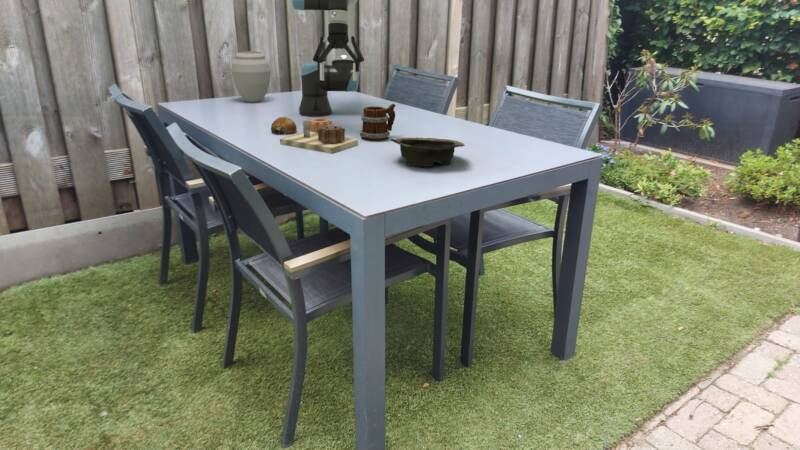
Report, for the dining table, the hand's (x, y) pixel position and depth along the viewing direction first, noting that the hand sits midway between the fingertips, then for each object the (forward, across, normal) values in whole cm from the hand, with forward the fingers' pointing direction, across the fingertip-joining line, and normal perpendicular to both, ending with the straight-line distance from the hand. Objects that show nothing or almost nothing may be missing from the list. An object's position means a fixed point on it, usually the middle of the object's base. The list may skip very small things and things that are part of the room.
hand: (338, 80), depth 220 cm
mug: (+22, +16, +1) cm, 27 cm away
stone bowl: (+27, +41, -26) cm, 55 cm away
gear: (+20, -9, +2) cm, 22 cm away
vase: (+9, -67, +58) cm, 89 cm away
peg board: (+24, -2, -16) cm, 29 cm away
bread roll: (+21, -23, -2) cm, 31 cm away
